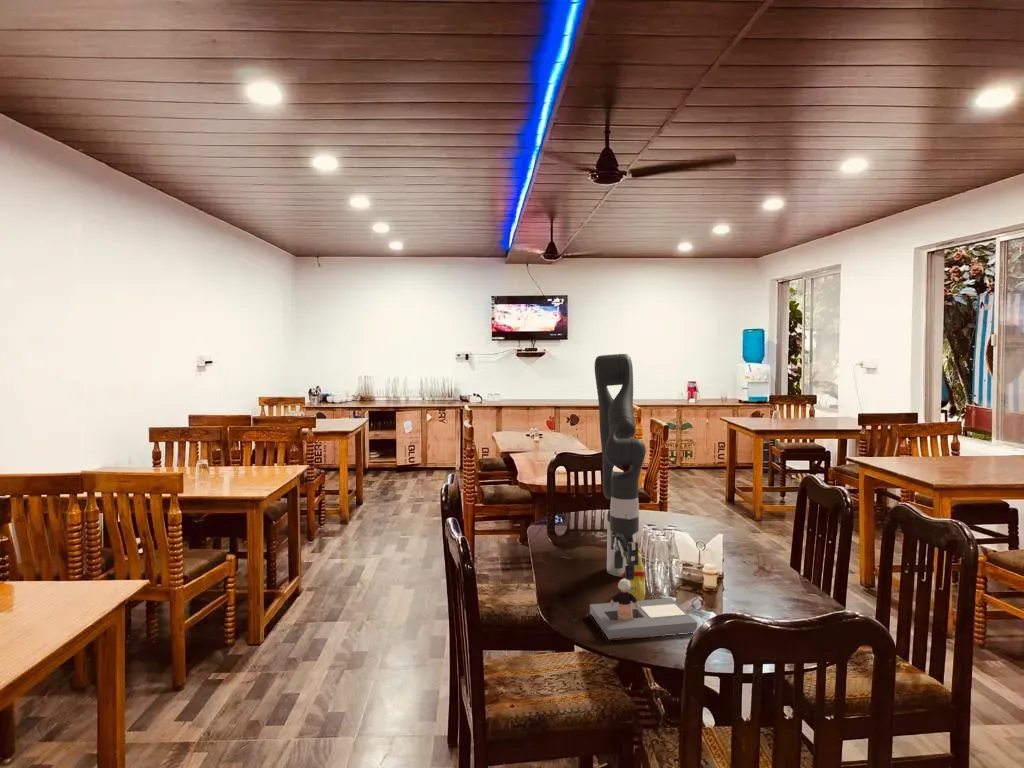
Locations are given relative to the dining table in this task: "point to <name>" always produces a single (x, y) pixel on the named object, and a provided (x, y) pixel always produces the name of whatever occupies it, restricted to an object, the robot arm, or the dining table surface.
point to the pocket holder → (644, 619)
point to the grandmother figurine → (624, 600)
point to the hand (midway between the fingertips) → (623, 573)
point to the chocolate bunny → (638, 579)
